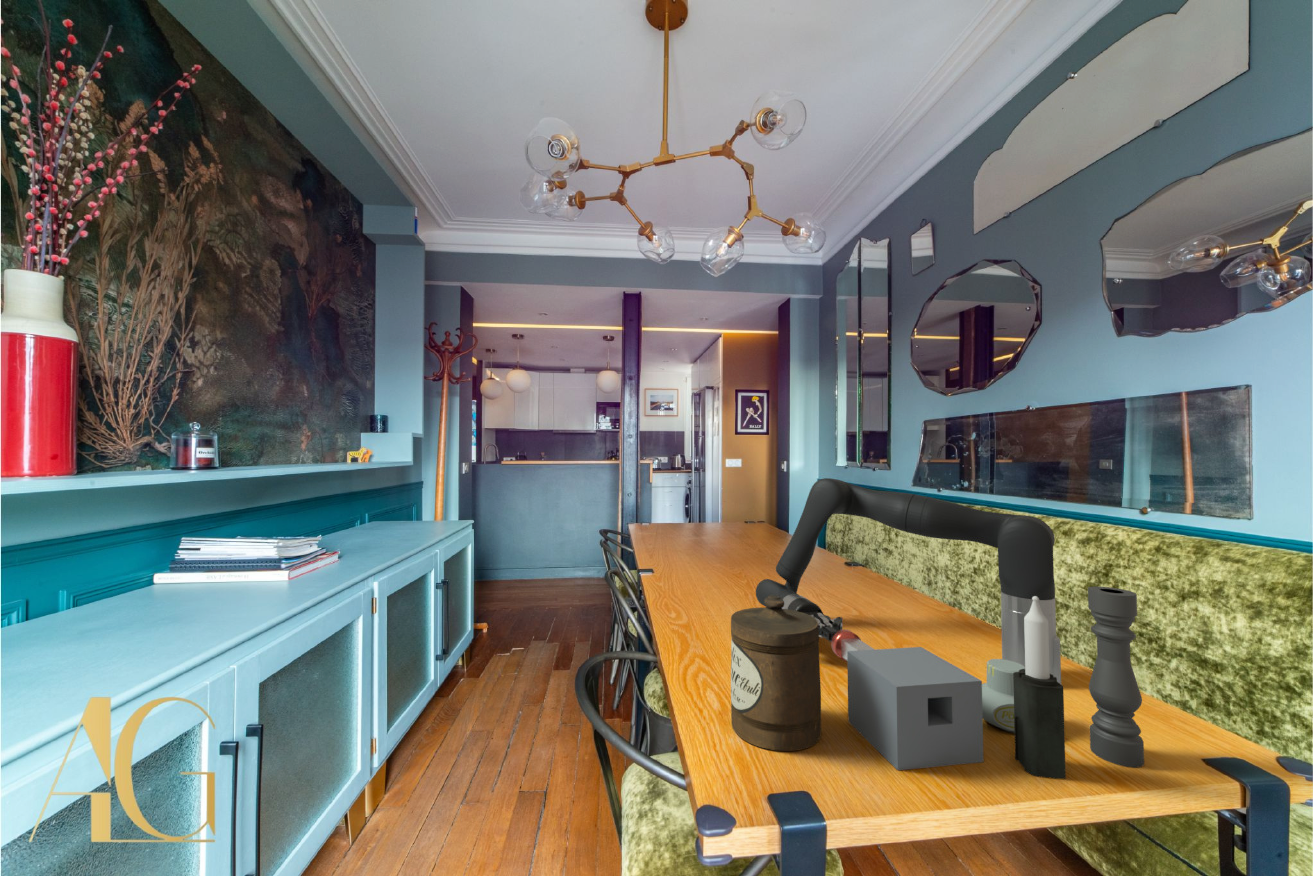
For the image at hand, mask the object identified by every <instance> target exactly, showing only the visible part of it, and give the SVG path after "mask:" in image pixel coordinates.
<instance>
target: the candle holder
mask: <svg viewBox="0 0 1313 876" xmlns="http://www.w3.org/2000/svg"><path fill="white" fill-rule="evenodd" d="M1087 598H1088V599H1087V600H1088V602H1087V605H1088V609H1089V610H1090V614H1091V616H1092V617H1093V619H1094V621H1095V622H1096V624H1094V625H1092V626H1090V629H1091V632H1092V634H1094V635H1095V637H1096V651H1097V652H1096V653H1097V655H1096V659H1095V662H1094V664H1093V665H1094V666H1093V670H1092V673H1091V676H1090V681H1089V683H1088V690H1089V693H1090V696H1091V698H1092V699H1093V702H1095V704H1096V705H1095V706H1096V708H1097V711H1096V712H1095V713H1094V714H1092V715H1091V717H1090V718H1091V721H1092V724H1090V725H1089V745H1090V746H1089V747H1090V751H1091V752H1092V754H1094V755H1095V756H1096V757H1098V758H1100V759H1102V760H1104V761H1106V762H1108V763H1112V764H1115V765H1117V766H1121V767H1126V768H1141V767H1144V765H1145V752H1144V751H1145V746H1144V745H1145V744H1144V743H1145V742H1144V739H1143V738H1142V736H1140V735H1141V733H1142V731H1141V730H1142V729H1141V728H1140V727H1139V725H1138V723H1137V722H1136V721H1135V719H1134V717H1135V716H1136V714H1135V712H1137V711H1138V710H1139V709H1140V708H1141V705H1142V703H1143V698H1142V694H1141V692H1140V687H1139V686H1138V685H1139V684H1138V681H1137V678H1136V675H1135V672H1134V669H1133V666H1132V662H1131V643H1132V641H1134V640H1135V639H1136V638H1137V635H1136V633H1135V632H1134V631H1133V630H1131V629H1130V627H1132V625H1133V623H1134V622H1135V621H1136V617H1137V616H1138V599H1137V598H1138V595H1137V593H1136V592H1133V591H1131V590H1127V589H1122V588H1116V587H1109V586H1090V587H1087Z"/></svg>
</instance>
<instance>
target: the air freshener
mask: <svg viewBox="0 0 1313 876" xmlns="http://www.w3.org/2000/svg"><path fill="white" fill-rule="evenodd" d="M1021 669H1025V667H1024V666H1023V665H1021V664H1019V663H1016V662H1013V661H1009V660H1004V659H1002V658H991V659H989V660H987V662H986V682H984V683H982V716H983V720H984V721H986V722H987V723H989V724H991V725H992V726H994V727H996V728H999V729H1001V730H1004V731H1006V732H1009V733H1014V734H1015V729H1014V684H1013V673H1014V672H1019V670H1021Z"/></svg>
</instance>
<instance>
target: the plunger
mask: <svg viewBox="0 0 1313 876" xmlns="http://www.w3.org/2000/svg"><path fill="white" fill-rule="evenodd" d="M830 645H831V649H832V652H833V653H834V654H835V655H836V656H837V657H838V658H840V660H842V661H844V662H847V651H859V650H876V649H875V648H873V647H872V646H870V645H869V644H867V643H866V642H864V641H862V639H861V638H860V637H859V636H858V634H856V633H854V632H853V631H852V630H850V629H842V630H840V631H838V632H837V633H836V634H835V635H834V636H833V638H832V641H831V642H830Z"/></svg>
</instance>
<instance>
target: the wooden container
mask: <svg viewBox="0 0 1313 876" xmlns="http://www.w3.org/2000/svg"><path fill="white" fill-rule="evenodd" d="M764 603H765V606H766V607H765V606H764V607H750V608H749V607H748V608H744V609H740V610H737V611H735V612H733V613H732V615H731V617H730V636H731V641H730V643H731V647H730V648H731V649H730V650H731V652H730V653H731V654H730V655H731V657H730V658H731V660H730V661H731V663H730V705H731V706H730V707H731V708H730V713H731V719H730V721H731V727H732V729H733V731H734V733H735V734H736V735H737V736H738V737H739V738H741V740H744V741H745V742H747V743H748V744H751V745H753V746H755V747H758V748H762V749H766V750H770V751H777V752H778V751H779V752H794V751H801V750H804V749H809V747H812V746H814V745H815V744H817V743H818V742H819V740H820V739H821V736H822V692H821V691H822V689H821V688H822V687H821V686H822V685H821V668H820V644H819V643H820V638H819V628H818V622H817V620H816V619H815V618H814V617H812V616H810V615H808V614H805V613H802V612H798V611H794V610H789V609H782V607H783V606H784V601H783V599H782V598H780V597H779V596H777V595H769V596H768V597H767V598H765V600H764Z"/></svg>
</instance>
